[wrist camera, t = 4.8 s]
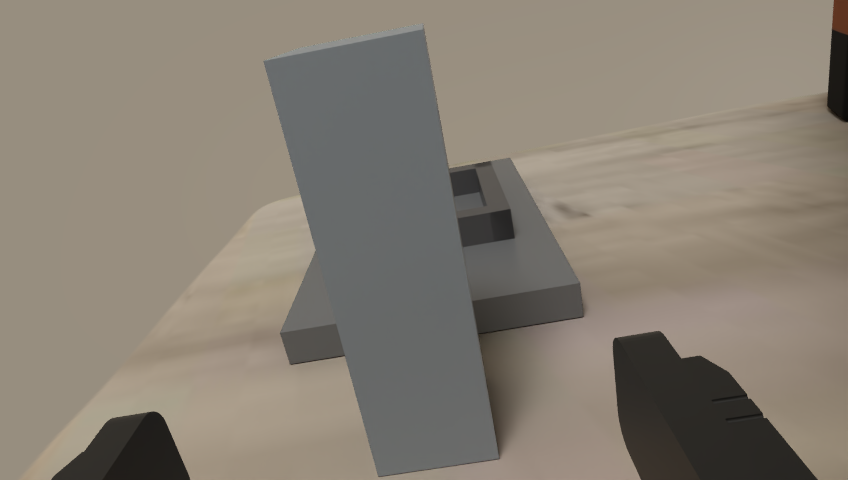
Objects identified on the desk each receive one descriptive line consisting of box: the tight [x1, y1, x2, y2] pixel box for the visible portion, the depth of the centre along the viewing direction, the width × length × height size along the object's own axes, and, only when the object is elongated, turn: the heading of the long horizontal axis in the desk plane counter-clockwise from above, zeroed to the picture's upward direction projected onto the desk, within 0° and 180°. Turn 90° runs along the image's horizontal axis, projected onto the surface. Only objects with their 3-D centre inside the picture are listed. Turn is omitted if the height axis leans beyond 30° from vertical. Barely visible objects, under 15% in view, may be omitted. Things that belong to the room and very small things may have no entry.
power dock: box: [280, 158, 583, 364], centre depth 33 cm, size 12×20×3 cm, turn 0°
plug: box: [264, 24, 499, 477], centre depth 17 cm, size 4×4×12 cm
